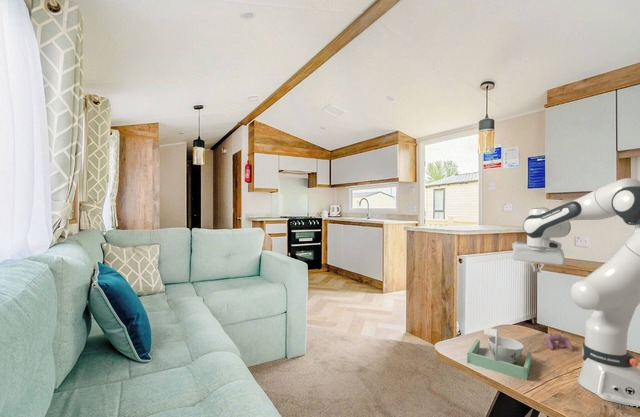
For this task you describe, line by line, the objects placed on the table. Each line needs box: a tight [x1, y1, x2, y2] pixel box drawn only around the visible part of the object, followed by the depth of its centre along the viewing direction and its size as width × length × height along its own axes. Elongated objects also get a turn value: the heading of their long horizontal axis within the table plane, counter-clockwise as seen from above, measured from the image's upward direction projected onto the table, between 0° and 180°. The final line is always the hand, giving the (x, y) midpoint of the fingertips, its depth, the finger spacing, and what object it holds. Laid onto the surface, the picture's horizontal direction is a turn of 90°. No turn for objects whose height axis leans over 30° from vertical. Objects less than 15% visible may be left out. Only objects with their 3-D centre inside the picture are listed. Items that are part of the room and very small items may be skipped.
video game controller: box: [544, 333, 574, 352], centre depth 145 cm, size 10×5×7 cm, turn 85°
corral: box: [466, 326, 532, 381], centre depth 130 cm, size 20×17×16 cm
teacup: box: [487, 336, 524, 364], centre depth 132 cm, size 15×12×8 cm
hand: (537, 272), depth 149 cm, fingers closed
